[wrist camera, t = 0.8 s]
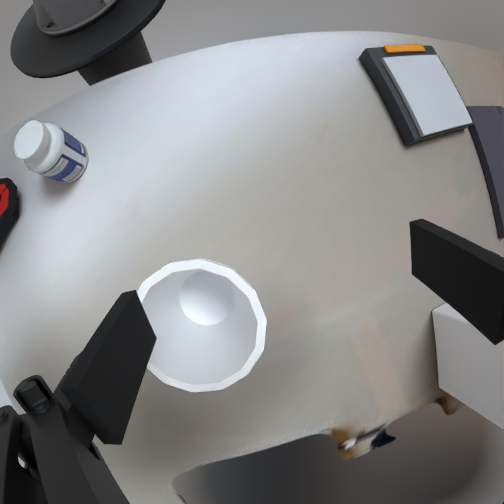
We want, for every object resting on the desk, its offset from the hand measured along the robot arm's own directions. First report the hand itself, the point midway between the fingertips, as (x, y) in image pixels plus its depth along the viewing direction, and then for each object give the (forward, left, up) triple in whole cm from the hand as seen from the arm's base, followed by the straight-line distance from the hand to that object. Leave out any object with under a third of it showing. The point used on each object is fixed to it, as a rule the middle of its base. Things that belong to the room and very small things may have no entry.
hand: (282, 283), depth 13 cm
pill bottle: (-19, -16, -20) cm, 32 cm away
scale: (-13, +31, -20) cm, 39 cm away
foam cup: (+2, -6, -20) cm, 21 cm away
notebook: (+2, +45, -20) cm, 49 cm away
